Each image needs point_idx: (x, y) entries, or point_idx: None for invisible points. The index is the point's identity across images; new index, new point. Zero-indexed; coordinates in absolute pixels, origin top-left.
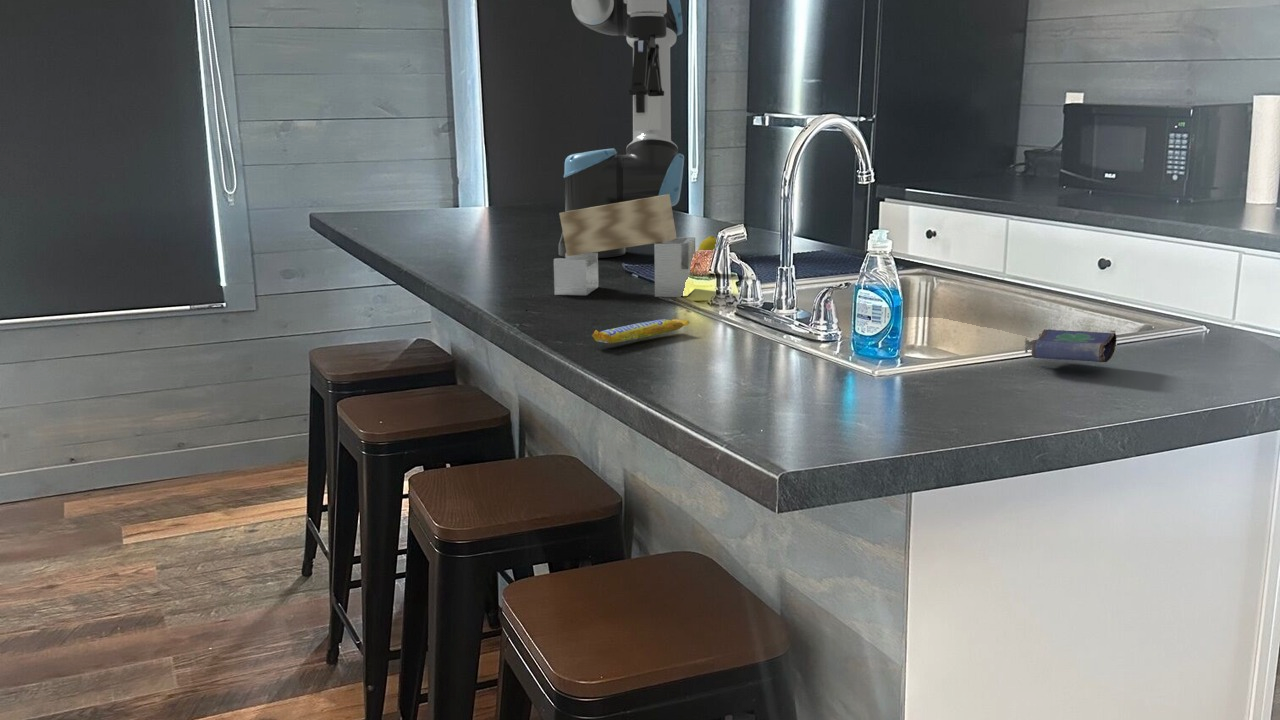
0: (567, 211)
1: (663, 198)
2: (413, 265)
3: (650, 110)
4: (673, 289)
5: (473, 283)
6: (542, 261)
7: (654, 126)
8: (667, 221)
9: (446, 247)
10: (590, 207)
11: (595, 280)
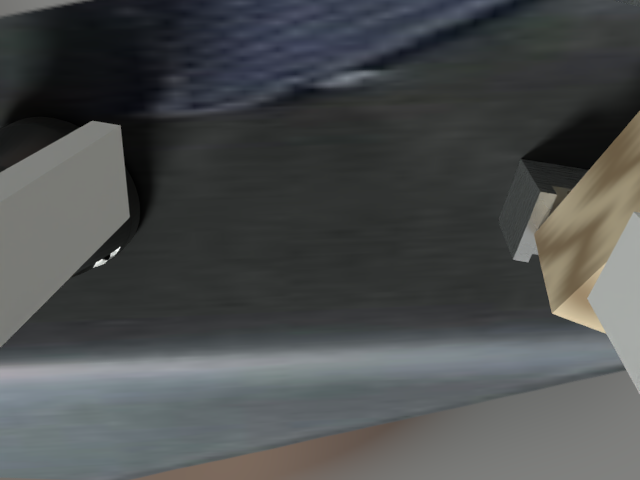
0: (575, 321)
1: None
2: (217, 445)
3: (43, 268)
4: None
5: (425, 366)
6: (140, 279)
7: (112, 174)
8: None
9: (2, 419)
10: (596, 272)
11: (556, 171)
